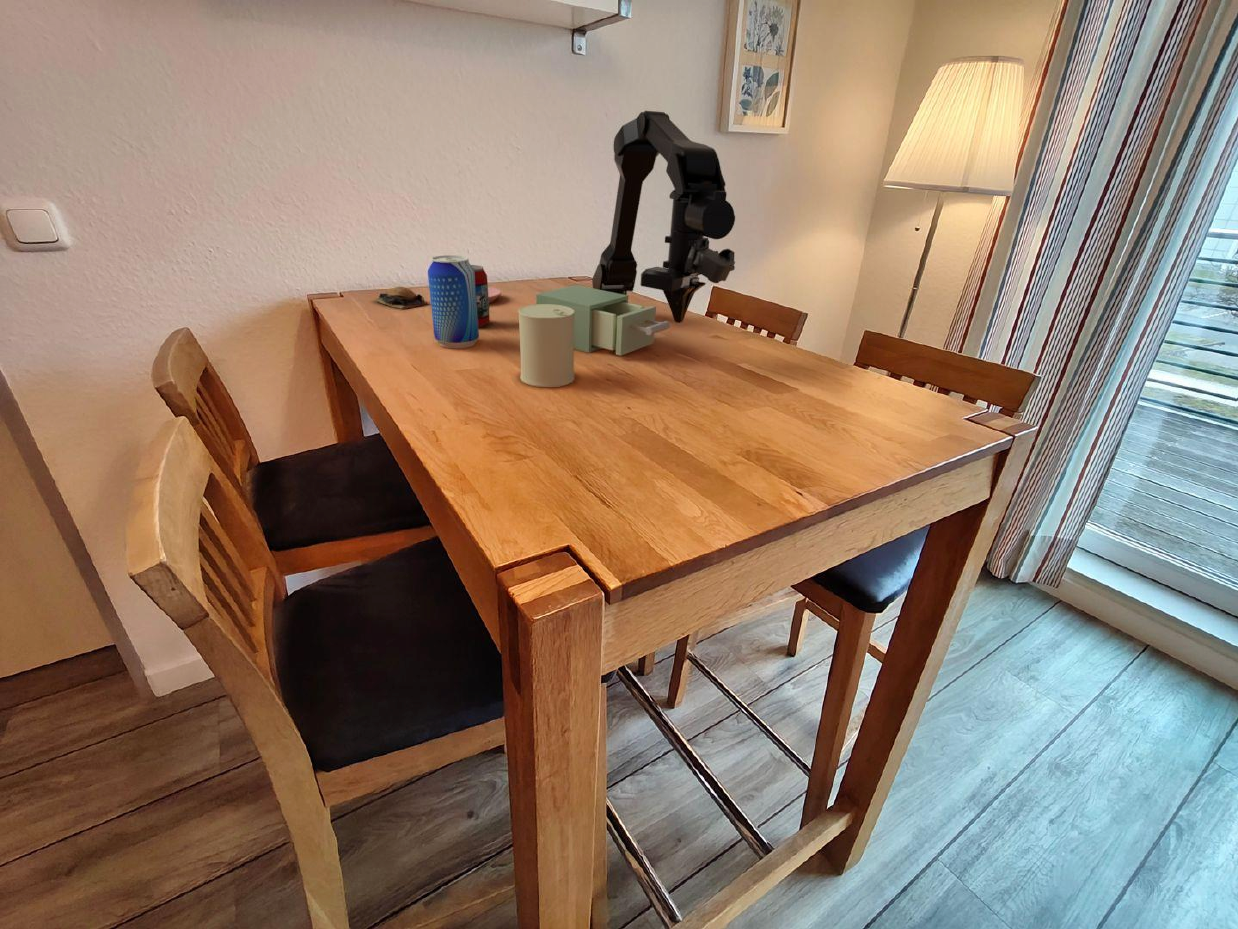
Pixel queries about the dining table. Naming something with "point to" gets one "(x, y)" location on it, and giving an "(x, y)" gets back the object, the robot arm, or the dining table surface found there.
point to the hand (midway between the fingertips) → (678, 322)
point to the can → (547, 345)
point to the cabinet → (581, 309)
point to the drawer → (625, 327)
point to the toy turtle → (401, 298)
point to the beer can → (453, 301)
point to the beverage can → (481, 295)
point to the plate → (493, 293)
